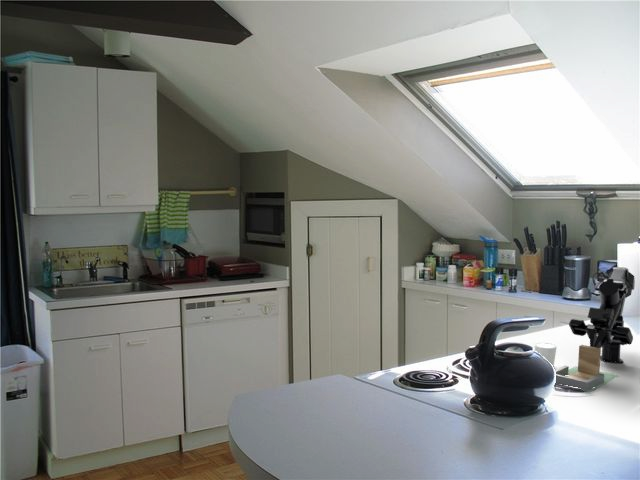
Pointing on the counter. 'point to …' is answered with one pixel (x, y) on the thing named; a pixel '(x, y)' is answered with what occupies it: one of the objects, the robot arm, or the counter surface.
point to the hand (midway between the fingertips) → (591, 352)
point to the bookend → (587, 363)
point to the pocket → (577, 382)
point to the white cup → (546, 351)
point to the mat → (607, 376)
